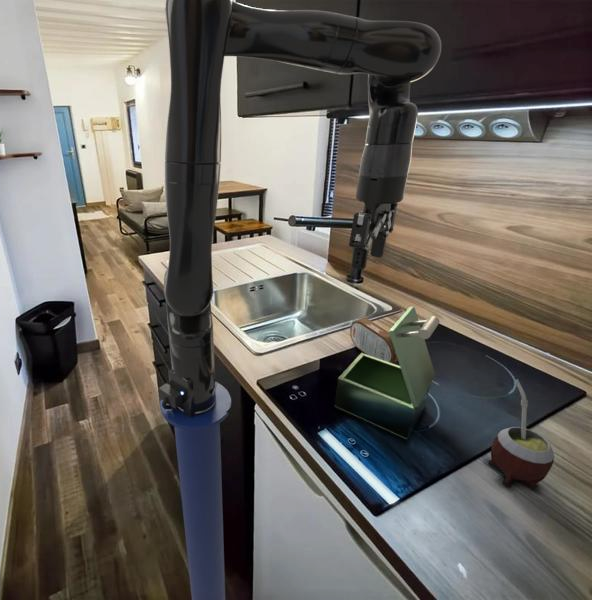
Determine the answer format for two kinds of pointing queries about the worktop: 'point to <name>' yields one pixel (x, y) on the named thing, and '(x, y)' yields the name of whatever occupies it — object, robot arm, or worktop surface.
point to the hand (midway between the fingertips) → (367, 262)
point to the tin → (373, 340)
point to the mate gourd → (521, 452)
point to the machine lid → (414, 352)
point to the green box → (378, 396)
